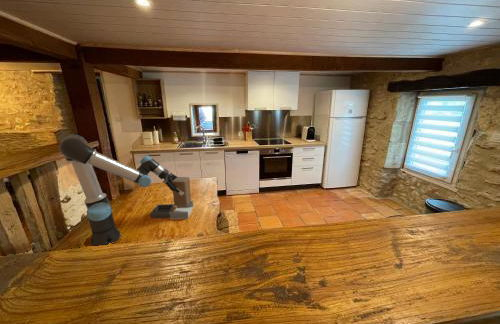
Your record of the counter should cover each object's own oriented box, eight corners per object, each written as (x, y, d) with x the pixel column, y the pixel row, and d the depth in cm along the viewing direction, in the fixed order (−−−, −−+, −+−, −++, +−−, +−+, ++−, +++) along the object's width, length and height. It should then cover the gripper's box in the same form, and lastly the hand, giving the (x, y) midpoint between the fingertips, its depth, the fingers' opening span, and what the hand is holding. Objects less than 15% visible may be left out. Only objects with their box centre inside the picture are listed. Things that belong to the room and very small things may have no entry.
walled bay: (170, 219, 147) (169, 212, 146) (177, 207, 165) (176, 200, 163) (188, 218, 148) (187, 212, 146) (193, 206, 165) (192, 200, 164)
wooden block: (186, 206, 149) (184, 181, 144) (173, 206, 150) (171, 181, 144) (191, 200, 159) (189, 176, 153) (179, 200, 160) (176, 176, 154)
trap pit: (151, 218, 149) (150, 213, 148) (157, 209, 162) (157, 204, 160) (169, 217, 149) (168, 213, 148) (175, 208, 162) (174, 204, 161)
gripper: (163, 170, 158) (185, 187, 164) (151, 182, 136) (177, 201, 141) (169, 163, 157) (191, 181, 162) (158, 174, 134) (184, 194, 140)
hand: (185, 191), depth 152 cm, fingers closed on wooden block, 11 cm apart
